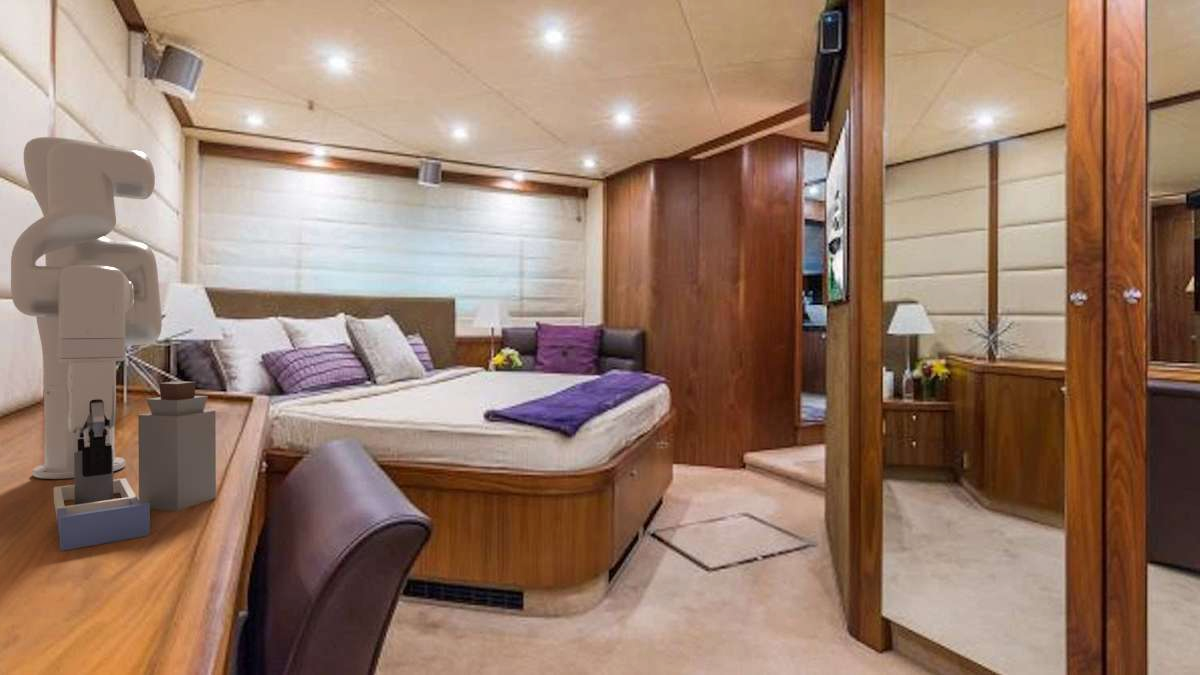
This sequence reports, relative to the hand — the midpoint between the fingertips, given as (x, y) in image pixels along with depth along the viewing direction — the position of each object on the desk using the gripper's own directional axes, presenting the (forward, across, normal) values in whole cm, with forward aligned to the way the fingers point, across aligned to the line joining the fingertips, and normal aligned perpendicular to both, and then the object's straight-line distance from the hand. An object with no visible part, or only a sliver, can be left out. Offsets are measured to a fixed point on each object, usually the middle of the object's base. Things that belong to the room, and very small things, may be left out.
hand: (94, 469), depth 91 cm
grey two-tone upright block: (+6, -1, 0) cm, 6 cm away
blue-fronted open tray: (+6, +5, 0) cm, 8 cm away
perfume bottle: (+6, +4, +10) cm, 12 cm away
